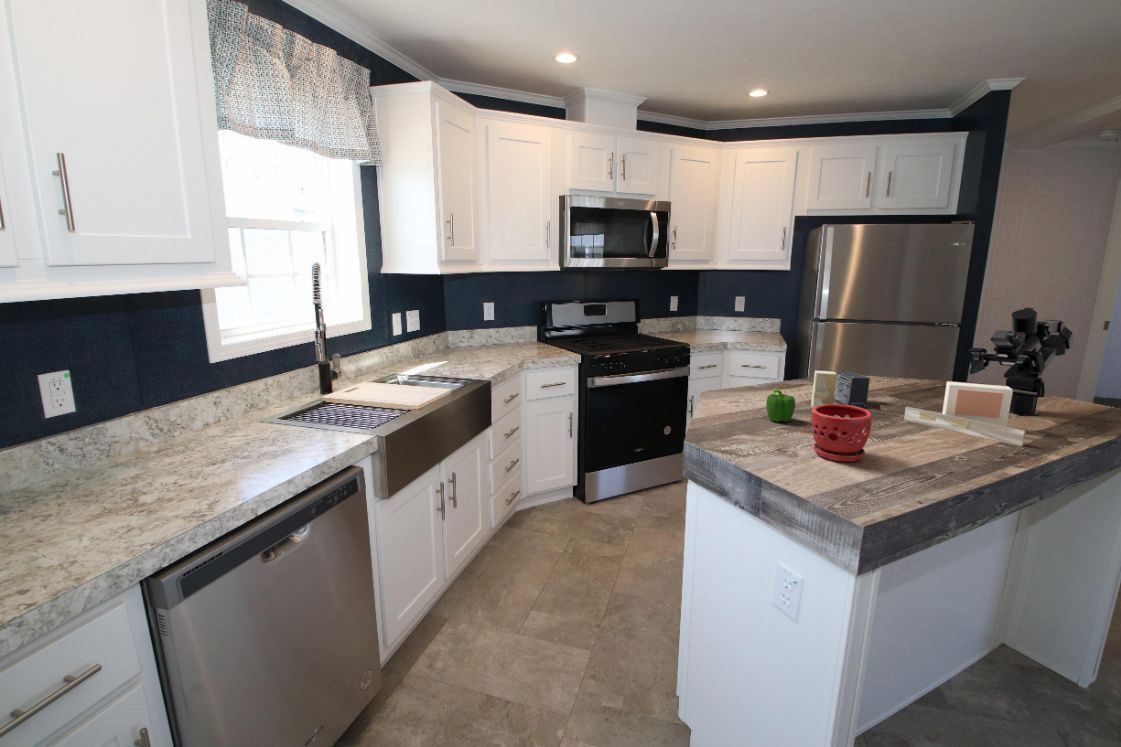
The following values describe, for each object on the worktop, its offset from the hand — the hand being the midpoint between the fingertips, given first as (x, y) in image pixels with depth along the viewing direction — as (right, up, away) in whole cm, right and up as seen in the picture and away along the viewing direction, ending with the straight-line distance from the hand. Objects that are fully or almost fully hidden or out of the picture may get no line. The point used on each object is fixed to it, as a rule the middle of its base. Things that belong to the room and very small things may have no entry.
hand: (986, 374), depth 156 cm
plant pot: (-57, -21, -23) cm, 65 cm away
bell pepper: (-59, -14, +7) cm, 61 cm away
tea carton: (-9, -15, -5) cm, 18 cm away
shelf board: (-9, -16, -5) cm, 19 cm away
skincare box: (-38, -11, +21) cm, 45 cm away
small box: (-26, -10, +26) cm, 38 cm away
